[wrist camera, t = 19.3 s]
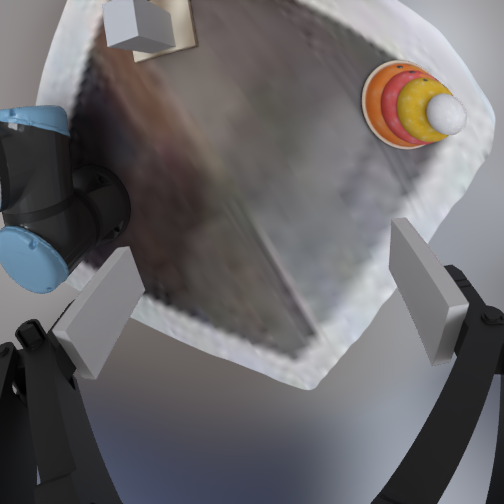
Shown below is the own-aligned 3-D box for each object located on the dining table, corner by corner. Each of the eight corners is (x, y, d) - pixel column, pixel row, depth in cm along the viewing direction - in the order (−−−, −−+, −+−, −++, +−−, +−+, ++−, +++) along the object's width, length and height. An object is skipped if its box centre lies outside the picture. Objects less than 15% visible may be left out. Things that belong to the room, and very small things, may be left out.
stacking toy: (446, 78, 39) (519, 85, 22) (428, 156, 46) (491, 197, 29) (367, 49, 39) (417, 32, 22) (350, 133, 46) (390, 163, 29)
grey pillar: (151, 53, 40) (107, 47, 28) (146, 20, 38) (101, 4, 25) (175, 47, 40) (138, 35, 28) (170, 13, 37) (131, -8, 25)
